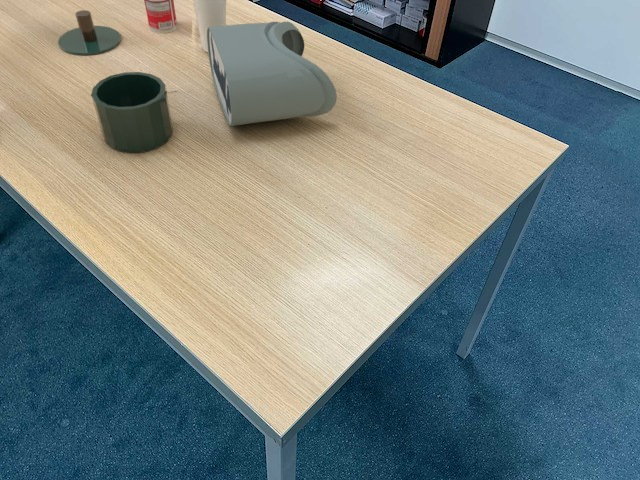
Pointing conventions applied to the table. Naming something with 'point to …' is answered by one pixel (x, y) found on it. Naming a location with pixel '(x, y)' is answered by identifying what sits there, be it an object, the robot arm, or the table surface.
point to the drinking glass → (209, 17)
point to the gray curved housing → (266, 73)
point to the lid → (88, 37)
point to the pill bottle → (161, 15)
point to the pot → (133, 111)
